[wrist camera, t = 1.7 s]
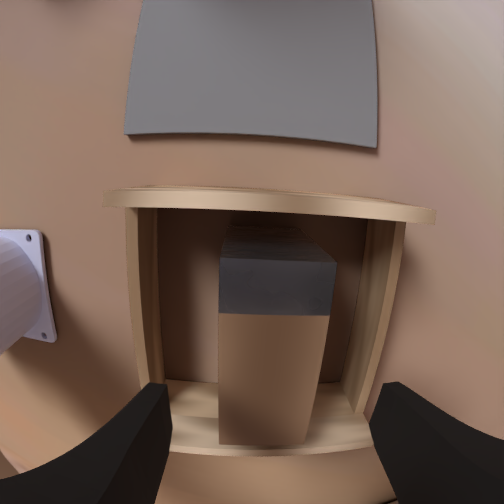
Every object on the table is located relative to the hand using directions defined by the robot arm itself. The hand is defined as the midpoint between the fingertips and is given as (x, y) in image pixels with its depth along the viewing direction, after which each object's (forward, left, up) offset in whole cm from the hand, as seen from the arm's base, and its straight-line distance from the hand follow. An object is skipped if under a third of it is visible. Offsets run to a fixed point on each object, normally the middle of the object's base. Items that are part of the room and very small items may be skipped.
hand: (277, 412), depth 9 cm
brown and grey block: (0, 0, -9) cm, 9 cm away
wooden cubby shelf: (0, 0, -9) cm, 9 cm away
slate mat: (-1, +15, -9) cm, 18 cm away
